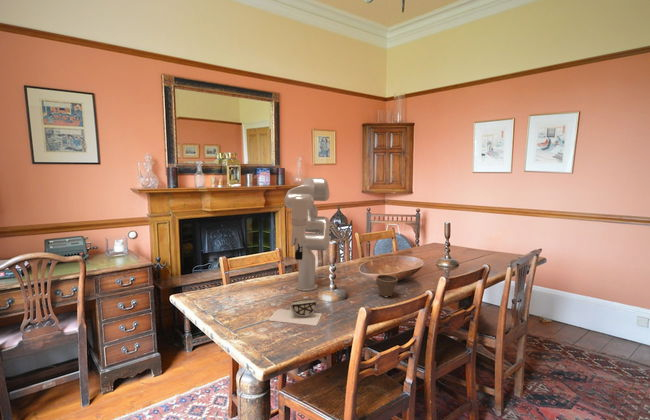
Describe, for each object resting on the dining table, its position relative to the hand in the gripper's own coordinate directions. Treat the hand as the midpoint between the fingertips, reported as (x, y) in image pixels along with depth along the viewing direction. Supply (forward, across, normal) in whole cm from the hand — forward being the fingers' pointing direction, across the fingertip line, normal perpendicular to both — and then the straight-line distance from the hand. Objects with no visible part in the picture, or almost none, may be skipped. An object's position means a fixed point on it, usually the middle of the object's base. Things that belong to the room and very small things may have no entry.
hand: (298, 259), depth 174 cm
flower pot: (+26, -26, +43) cm, 56 cm away
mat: (+24, +13, +2) cm, 27 cm away
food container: (+22, +4, +3) cm, 23 cm away
